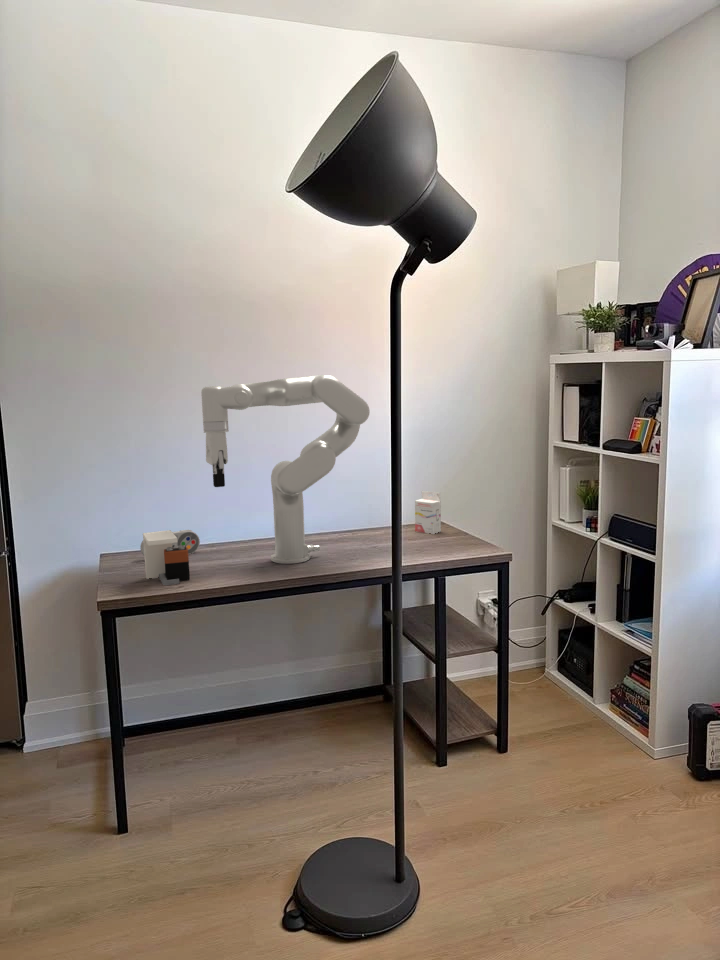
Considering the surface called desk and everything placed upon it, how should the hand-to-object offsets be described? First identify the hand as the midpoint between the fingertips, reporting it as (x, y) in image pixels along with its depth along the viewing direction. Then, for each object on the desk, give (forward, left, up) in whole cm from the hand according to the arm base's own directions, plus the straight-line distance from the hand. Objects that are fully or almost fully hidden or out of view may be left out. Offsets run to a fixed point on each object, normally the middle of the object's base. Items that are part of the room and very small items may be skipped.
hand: (219, 486), depth 227 cm
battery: (+16, +9, -25) cm, 31 cm away
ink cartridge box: (-78, -10, -25) cm, 83 cm away
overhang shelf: (+20, +9, -25) cm, 33 cm away
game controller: (+13, -20, -26) cm, 35 cm away
